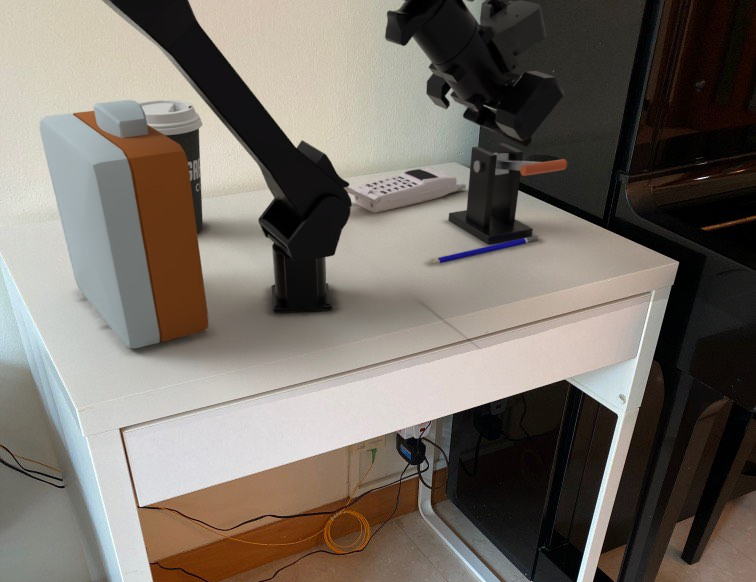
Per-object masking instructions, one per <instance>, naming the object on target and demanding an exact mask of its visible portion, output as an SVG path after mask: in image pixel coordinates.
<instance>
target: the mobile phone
mask: <svg viewBox="0 0 756 582" xmlns="http://www.w3.org/2000/svg"><path fill="white" fill-rule="evenodd" d="M457 182H458V181H457V176H456V177H455V176H453V175H451V174H449V173H446V172H444V171H441V170H439V169H436V168H433V167H432V168H430V167H429V168H428V167H425V168H416V169H415V168H414V169H410V170H405V171H402V172H401V173H400V174H398V175H394V176H390V177H386V178H383V179H379V180H375V181H373V182H372V181H371V182H368V183H364V184H360V185H354V186H353V187H352V188H351V187H349V186H348V187H345V188H344V189H345V190H346V191H347V192H348V194H349V195H352V196H353V198H354V202H355V204H356V205H358V206H360V207H362V208H364V209H366V210H368V211H369V212H371V213H373V214H378V213H382V212H386V211H391V210H394V209H399V208H403V207H408V206H412V205H416V204H420V203H425V202H429V201H432V200H437V199H440V198H442V197H445V196H446V195H449V194H451V193H455V192H458V191H462V190H464V189H466V188H467V187H466V186H467V185H466V184H465V183H464V182H463V183H459V184H457Z"/></svg>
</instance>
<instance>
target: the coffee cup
mask: <svg viewBox="0 0 756 582" xmlns="http://www.w3.org/2000/svg"><path fill="white" fill-rule="evenodd" d="M137 103H138V104H139V105H140V106H141V107H142V108H143V110H144V112H145V116H146V121H147V125H149V126H151V127H152V128H154V129H155V130H157V131H159V132H160V133H162V134H164V135H165V136H167V137H169V138H170V139H172V140H173V141H175V142H176V143H178V144H180V146H181V147H182V149H183V150H184V152H185V154H186V158H187V161H188V167H189V175H190V182H191V190H192V198H193V205H194V213H195V220H196V228H197V235H198V234H199V233H201V232H202V231H203V229H204V222H203V199H202V198H203V197H202V177H201V176H202V175H201V174H202V173H201V172H202V171H201V149H200V129H201V128H202V126H203V122H202V119H201V117H200V115H199V113H198V112H196V110H195V107H194V106H195V105H194V104H192V102H188V101H185V100H180V99H152V100H151V99H150V100H144V101H138V102H137Z"/></svg>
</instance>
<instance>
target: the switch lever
mask: <svg viewBox="0 0 756 582" xmlns="http://www.w3.org/2000/svg"><path fill="white" fill-rule="evenodd" d="M492 153H493V154H496V155H497V161H496V170H495V175H502V174H508V173H509V170H517V171H520V172H521V174H520V176H523V177H525V176H533V175H538V174H539V175H540V174H545V173H552V172H558V171H564V170H566V169H567V167H568V162H567V160H566V159H565V158H562V159H555V160H548V161H547V160H546V161H533V160H532V161H531V160H522V161H517V160H509V153H497V152H492Z"/></svg>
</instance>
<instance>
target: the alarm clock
mask: <svg viewBox="0 0 756 582" xmlns="http://www.w3.org/2000/svg"><path fill="white" fill-rule="evenodd" d="M39 133H40V137H41V142H42V146H43V151H44V155H45V159H46V164H47V168H48V172H49V176H50V180H51V185H52V189H53V192H54V197H55V201H56V206H57V209H58V214H59V218H60V222H61V226H62V231H63V235H64V239H65V244H66V247H67V253H68V256H69V261H70V265H71V269H72V272H73V277H74V280H75V281H74V282H75V284H76V286H77V288H78V290H79V291H80V292H81V294H82V295H83V297H85V299H86V300H87V301H88V302H89V303H90V305H91V306H92V307H93V308H94V309H95V311H97V313H98V314H99V315H100V317H101V318H102V319H103V320H104V321H105V323H106V324H107V325H108V326H109V327H110V329H111V330H112V331H113V333H115V334H116V336H117V338H119V339H120V340H121V342H122V343H123V344H124V345H125V346H126V348H130V349H139V348H144V347H146V346H147V347H148V346H151V345H154V344H160V343H162V342H163V343H164V342H166V341H171V340H175V339H179V338H182V337H186V336H192V335H194V334H199V333H203V332H205V331H206V330H207V329H209V314H208V313H209V312H208V305H207V298H206V290H205V283H204V282H205V281H204V275H203V267H202V259H201V253H200V244H199V238H198V234H197V228H196V220H195V213H194V205H193V198H192V190H191V182H190V175H189V167H188V161H187V158H186V154H185V152H184V150H183V149H182V147H181V146H180V144H178V143H176V142H175V141H173V140H172V139H170V138H169V137H167V136H165V135H164V134H162V133H160V132H159V131H157V130H155V129H154V128H152V127H151V126H149V125H147V121H146V116H145V112H144V110H143V108H142V107H141V106H140V105H139V104H138V102H137V101H136V100H132V99H126V100H125V99H124V100H123V99H122V100H114V101H106V102H96V103H94V105H93V110H88V111H80V112H79V111H78V112H73V113H70V112H69V113H61V114H53V115H46V116H44V117H43V118H41V120H40V121H39Z"/></svg>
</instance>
